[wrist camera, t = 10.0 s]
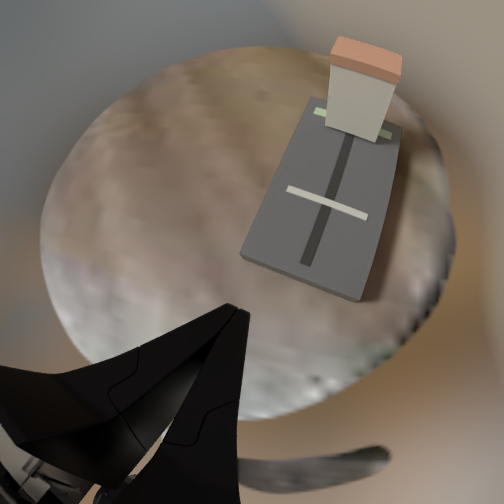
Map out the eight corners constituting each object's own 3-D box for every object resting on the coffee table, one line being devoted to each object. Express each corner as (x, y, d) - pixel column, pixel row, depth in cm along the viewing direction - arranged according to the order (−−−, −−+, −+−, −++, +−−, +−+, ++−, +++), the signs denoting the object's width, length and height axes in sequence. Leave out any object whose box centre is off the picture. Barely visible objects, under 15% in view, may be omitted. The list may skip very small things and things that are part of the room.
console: (354, 302, 21) (360, 300, 19) (243, 258, 23) (238, 252, 21) (396, 138, 24) (402, 126, 22) (310, 109, 27) (310, 95, 25)
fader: (375, 143, 22) (400, 75, 14) (323, 125, 23) (330, 53, 15) (380, 121, 23) (402, 55, 14) (331, 104, 24) (338, 36, 15)
